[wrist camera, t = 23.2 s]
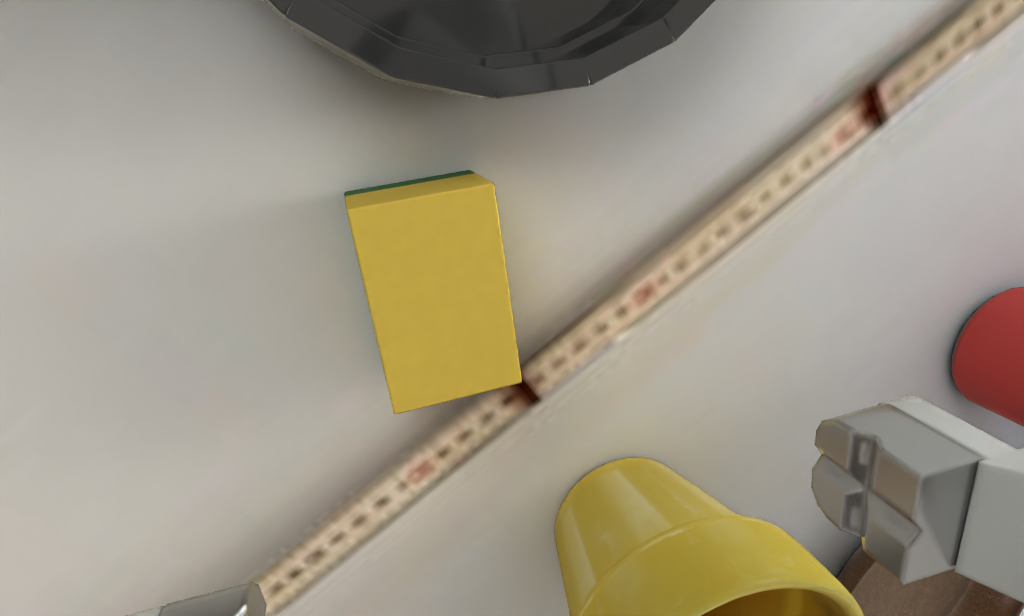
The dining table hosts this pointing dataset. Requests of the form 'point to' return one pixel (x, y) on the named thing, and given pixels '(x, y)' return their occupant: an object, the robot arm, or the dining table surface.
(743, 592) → the flower pot
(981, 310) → the beer can
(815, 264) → the dining table surface
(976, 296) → the dining table surface
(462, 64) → the pan
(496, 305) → the sponge
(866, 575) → the saucer
